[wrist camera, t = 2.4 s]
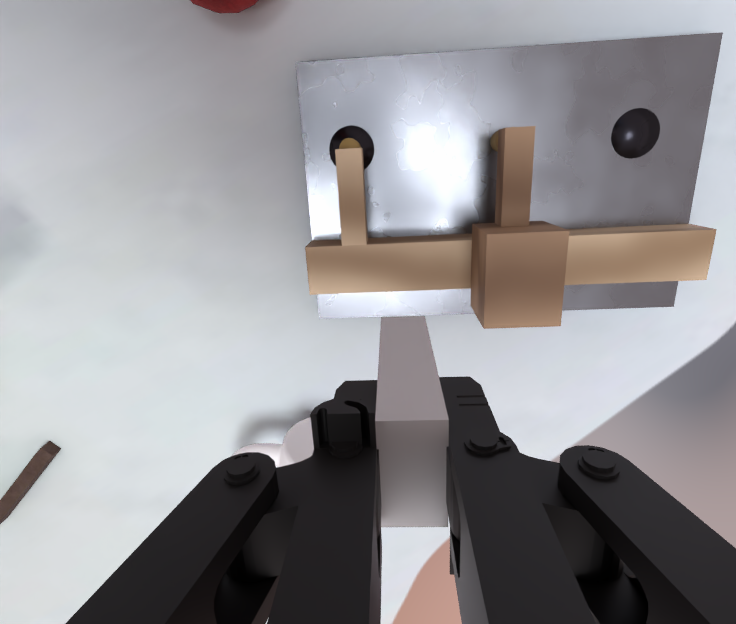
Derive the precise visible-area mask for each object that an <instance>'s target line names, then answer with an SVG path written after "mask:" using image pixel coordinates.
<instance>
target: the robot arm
mask: <svg viewBox="0 0 736 624" xmlns="http://www.w3.org/2000/svg"><path fill="white" fill-rule="evenodd" d="M310 417H311V426H312V436H313V445H314V450H313V454H312V456H311V457H309V458H307V459H305V460H303V461H300V462H297V463H294V464H290V465H286V466H281V467H277V468H276V466H275V461H274V460H273V459H272V458H271V457H270V456H269V455H266V454H263V453H260V452H246V453H240V454H237V455H233V456H231V457H229V458H227V459H225V460H223V461H221V462H220V463H219V464H218V465H216V466H215V467H214V468H213V469H212V470H211V471H210V472H209V473H208V474H207V475H206V476H205V477H204V478H203V479H202V480H201V481H200V482H199V483H198V484H197V486H196V487H195V488H194V489H193V490H192V491H191V492H190V493H189V494H188V495H187V496H186V497H185V498H184V499H183V500H182V501H181V502H180V503H179V505H178V506H177V507H176V508H175V509H174V510H173V511H172V512H171V513H170V514H169V515H168V516H167V517H166V518H165V519H164V520H163V521H162V522H161V523H160V525H159V526H158V527H157V528H156V529H155V530H154V531H153V532H152V533H151V534H150V535H149V536H148V537H147V538H146V539H145V540H144V541H143V542H142V544H141V545H140V546H139V547H138V548H137V549H136V550H135V551H134V552H133V553H132V554H131V555H130V556H129V557H128V558H127V559H126V560H125V561H124V562H123V564H122V565H121V566H120V567H119V568H118V569H117V570H116V571H115V572H114V573H113V574H112V575H111V576H110V577H109V578H108V579H107V580H106V581H105V583H104V584H103V585H102V586H101V587H100V588H99V589H98V590H97V591H96V592H95V593H94V594H93V595H92V596H91V597H90V598H89V599H88V600H87V602H86V603H85V604H84V605H83V606H82V607H81V608H80V609H79V610H78V611H77V612H76V613H75V614H74V615H73V616H72V617H71V618H70V619H69V620H68V622H67V623H66V624H265V623H266V621H267V619H268V617H269V619H268V622H267V624H380V618H381V565H382V540H381V527H448V516H449V522H450V574H454V575H455V582H456V588H457V594H458V601H459V607H460V614H461V620H462V624H736V548H734V547H733V546H732V545H731V544H730V543H728V542H727V541H726V540H725V539H723V538H722V537H721V536H720V535H719V534H718V533H716V532H715V531H714V530H713V529H711V528H710V527H709V526H708V525H707V524H705V523H704V522H703V521H702V520H700V519H699V518H698V517H697V516H696V515H694V514H693V513H692V512H691V511H690V510H688V509H687V508H686V507H685V506H683V505H682V504H681V503H680V502H679V501H677V500H676V499H675V498H674V497H673V496H671V495H670V494H669V493H668V492H666V491H665V490H664V489H663V488H662V487H660V486H659V485H658V484H657V483H656V482H654V481H653V480H652V479H651V478H649V477H648V476H647V475H646V474H645V473H643V472H642V471H641V470H640V469H639V468H637V467H636V466H635V465H634V464H632V463H631V462H630V461H629V460H627V459H625V458H624V457H622V456H621V455H619V454H618V453H615V452H612V451H610V450H607V449H605V448H600V447H595V446H589V445H588V446H574V447H571V448H568V449H566V450H565V451H564V452H563V453H562V454H561V455H560V463H556V462H551V461H546V460H541V459H537V458H533V457H529V456H526V455H524V454H522V453H519V451H518V448H517V446H516V445H515V443H514V442H513V441H512V439H511V438H509V437H508V436H506V435H505V434H503V433H501V432H500V431H499V428H498V426H497V423H496V421H495V419H494V416H493V414H492V411H491V409H490V406H488V402H487V399H486V397H485V394H484V392H483V390H482V387H481V385H480V384H479V383H477V382H476V381H475V380H473V379H472V378H471V377H439V376H438V371H437V367H436V363H435V358H434V354H433V350H432V346H431V341H430V337H429V333H428V328H427V324H426V320H425V316H410V317H381V331H380V347H379V364H378V380H364V381H345V382H344V383H343V384H342V385H341V386H340V387H339V388H337V389H336V392H335V396H334V399H332V400H329V401H326V402H323V403H321V404H320V405H318V406H317V407H315V408H314V410H313V411H312V413H311V414H310Z"/></svg>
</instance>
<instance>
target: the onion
mask: <svg viewBox="0 0 736 624" xmlns="http://www.w3.org/2000/svg"><path fill="white" fill-rule="evenodd" d="M190 1H191V2H192V3H193V4H196V5H198V6H201V7H204V8H206V9H209V10H211V11H214V12H217V13H239V12H241V11H243V10H245V9H247V8H249V7H251V6H253V5H255V4H256V2H257V1H258V0H190Z"/></svg>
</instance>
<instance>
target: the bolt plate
mask: <svg viewBox="0 0 736 624" xmlns="http://www.w3.org/2000/svg"><path fill="white" fill-rule="evenodd" d="M722 34H723V33H709V34H694V35H680V36H665V37H651V38H637V39H622V40H608V41H593V42H579V43H564V44H550V45H536V46H521V47H507V48H492V49H478V50H464V51H449V52H435V53H420V54H406V55H392V56H377V57H363V58H348V59H334V60H320V61H305V62H296V73H297V84H298V94H299V105H300V116H301V127H302V138H303V148H304V159H305V170H306V181H307V192H308V202H309V213H310V224H311V235H312V241H314V240H336V239H341V226H340V212H339V198H338V184H337V170H336V156H335V149H339V146H340V143H341V142H342V141H343V140H344V139H346V138H352V139H355V140H356V141H357V142H358V143H359V144H360V146H361V148H363V160H364V179H365V199H366V218H367V237H368V238H381V237H403V236H426V235H448V234H471V233H472V224H480V223H495V205H496V180H497V155H498V152H497V151H495V150H493V149H492V147H491V145H490V140H491V137H492V135H493V134H494V133H495V132H497V131H498V130H499V129H503V128H508V127H525V126H536V127H535V142H534V157H533V173H532V188H531V204H530V219H529V221H545V222H548V223H550V224H553V225H556V226H558V227H561V228H564V229H582V228H605V227H627V226H649V225H672V224H688V223H689V218H690V212H691V207H692V201H693V195H694V190H695V184H696V179H697V173H698V168H699V162H700V156H701V151H702V145H703V140H704V134H705V129H706V123H707V117H708V112H709V106H710V101H711V95H712V89H713V84H714V78H715V73H716V67H717V62H718V56H719V50H720V45H721V39H722ZM677 285H678V281H661V282H634V283H607V284H580V285H564V295H563V306H562V310H587V309H617V308H646V307H674V301H675V296H676V290H677ZM317 300H318V310H319V319H322V318H352V317H381V316H411V315H440V314H469V313H474V311H473V309H472V307H471V306H470V304H471V289H446V290H420V291H393V292H366V293H339V294H317Z"/></svg>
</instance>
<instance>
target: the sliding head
mask: <svg viewBox="0 0 736 624" xmlns="http://www.w3.org/2000/svg"><path fill="white" fill-rule="evenodd" d="M535 127H536V126H525V127H508V128H503V129H499V130H498V131H497V132H495V133H494V134H493V135H492V137H491V140H490V145H491V147H492V149H493V150H495V151H497V152H498V155H497V180H496V205H495V223H480V224H472V262H471V304H470V306H471V307H472V309H473V311H474V313H475V314H476V316H477V318H478V320H479V321H480V323H481V325H482V327H483V328H484V329H485V328H517V327H548V326H561V316H562V306H563V295H564V284H565V274H566V263H567V252H568V242H569V230H566V229H564V228H561V227H558V226H556V225H553V224H550V223H548V222H545V221H529V219H530V204H531V188H532V173H533V157H534V142H535Z"/></svg>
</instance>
